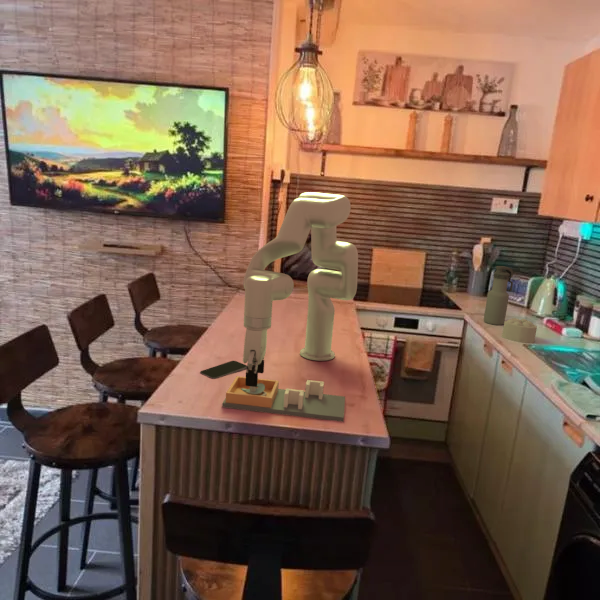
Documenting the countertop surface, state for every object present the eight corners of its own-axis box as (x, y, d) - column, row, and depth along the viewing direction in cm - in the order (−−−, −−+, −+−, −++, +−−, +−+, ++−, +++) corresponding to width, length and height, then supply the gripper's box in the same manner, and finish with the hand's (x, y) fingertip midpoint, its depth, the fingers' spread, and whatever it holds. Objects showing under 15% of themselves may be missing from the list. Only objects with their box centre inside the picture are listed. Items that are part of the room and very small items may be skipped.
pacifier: (271, 396, 148) (258, 388, 152) (273, 376, 146) (259, 368, 150) (250, 402, 143) (237, 394, 147) (252, 381, 141) (239, 374, 145)
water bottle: (495, 319, 262) (505, 265, 256) (509, 325, 254) (519, 268, 247) (479, 320, 259) (488, 264, 253) (491, 325, 250) (501, 268, 244)
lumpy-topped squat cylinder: (508, 333, 239) (512, 315, 237) (537, 341, 231) (541, 322, 229) (499, 337, 232) (502, 318, 230) (529, 345, 223) (532, 325, 221)
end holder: (236, 384, 154) (236, 376, 154) (278, 389, 153) (278, 380, 152) (225, 402, 142) (226, 392, 141) (271, 407, 141) (271, 398, 140)
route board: (234, 387, 155) (235, 371, 154) (344, 400, 152) (346, 383, 151) (222, 407, 142) (223, 389, 140) (343, 421, 139) (345, 403, 138)
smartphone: (198, 371, 165) (233, 360, 176) (198, 375, 165) (233, 363, 176) (213, 378, 160) (248, 366, 171) (213, 381, 160) (248, 369, 172)
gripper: (250, 311, 151) (248, 366, 156) (236, 329, 135) (234, 390, 139) (276, 313, 151) (272, 369, 155) (265, 331, 134) (262, 393, 138)
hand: (254, 379), depth 147 cm, fingers open, 9 cm apart
